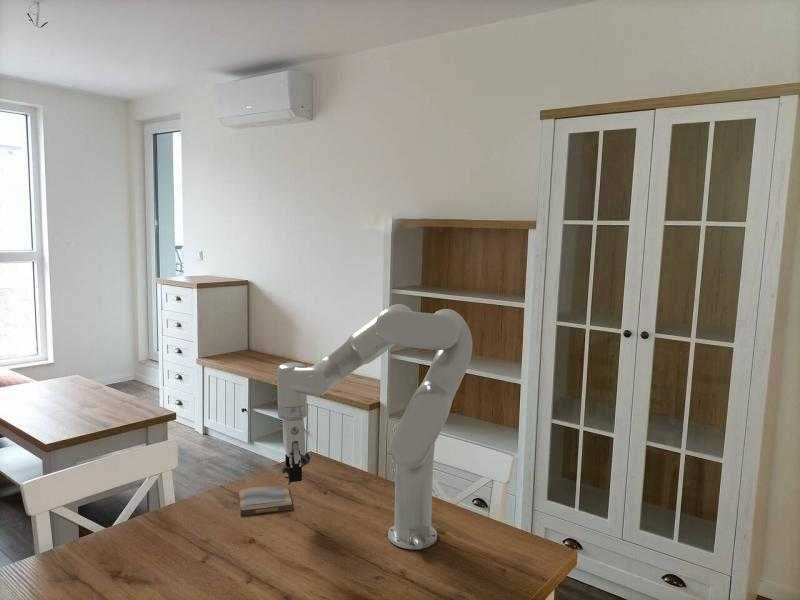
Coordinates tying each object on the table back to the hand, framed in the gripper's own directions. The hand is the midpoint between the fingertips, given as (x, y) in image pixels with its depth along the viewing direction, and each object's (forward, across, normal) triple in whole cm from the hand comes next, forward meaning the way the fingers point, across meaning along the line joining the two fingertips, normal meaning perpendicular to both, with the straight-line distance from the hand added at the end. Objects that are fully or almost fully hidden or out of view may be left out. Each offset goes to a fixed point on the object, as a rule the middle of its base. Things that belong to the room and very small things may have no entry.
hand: (293, 474), depth 155 cm
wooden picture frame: (+14, +15, +7) cm, 21 cm away
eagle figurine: (+2, +1, -1) cm, 3 cm away
